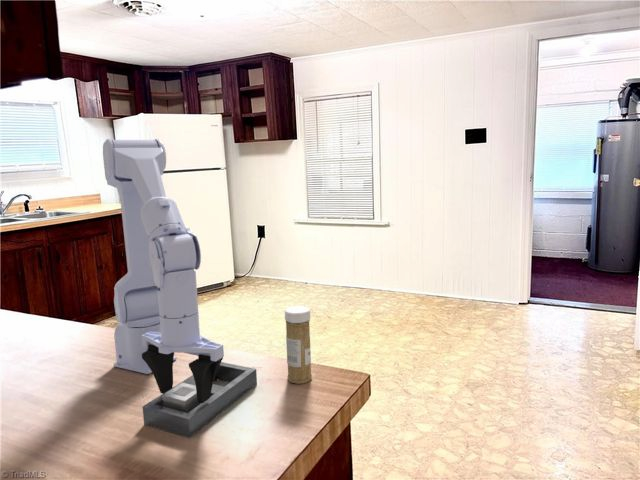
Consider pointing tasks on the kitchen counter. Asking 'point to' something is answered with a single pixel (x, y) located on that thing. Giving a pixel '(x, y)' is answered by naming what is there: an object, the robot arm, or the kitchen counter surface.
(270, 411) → the kitchen counter surface
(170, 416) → the grey rectangular tray
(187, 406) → the gray block
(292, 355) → the sprinkles bottle
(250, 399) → the kitchen counter surface
